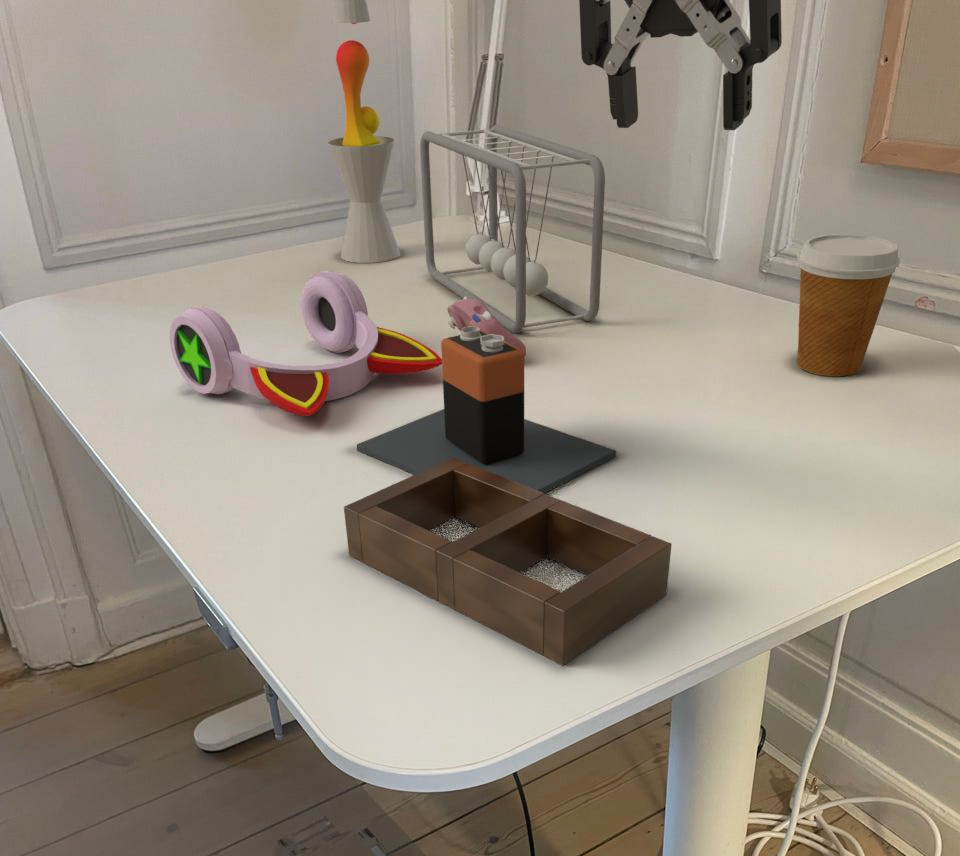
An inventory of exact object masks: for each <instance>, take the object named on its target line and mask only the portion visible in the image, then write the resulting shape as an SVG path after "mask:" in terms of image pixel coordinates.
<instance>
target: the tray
mask: <svg viewBox="0 0 960 856" xmlns="http://www.w3.org/2000/svg"><path fill="white" fill-rule="evenodd" d="M343 512H344V521H345V522H344V523H345V531H346V539H347V549H348V555H349V556H350V557H351V558H354V559H355V560H357V561H359V562H362V563H363V564H366V565H367V566H369V567H371V568H373V569H375V570H377V571H379V572H381V573H383V574H384V575H387V576H388V577H391V578H392V579H394V580H396V581H398V582H399V583H400V582H401V583H402V584H404V585H405V586H408V587H409V588H411V589H413V590H415V591H417V592H419V593H422V594H423V595H425V596H427V597H428V598H431V599H433V600H435V601H437V602H439V603H440V604H443V605H445V606H446V607H449V608H450V609H452V610H455V611H456V612H458V613H460V614H462V615H464V616H466V617H468V618H470V619H471V620H474V621H475V622H477V623H478V624H479V623H480V624H481V625H483V626H485V627H487V628H490V629H491V630H493V631H495V632H497V633H499V634H501V635H503V636H504V637H507V638H509V639H510V640H513V641H514V642H517V643H518V644H520V645H522V646H524V647H526V648H528V649H530V650H531V651H534V652H536V653H537V654H539V655H541V656H544V657H546V658H547V659H549V660H551V661H553V662H555V663H557V664H559V665H560V666H564V665H566V664H567V663H569V662H570V661H572V660H573V659H575V658H576V657H577V656H579V655H581V654H582V653H583V652H585V651H587V650H588V649H589V648H591V647H592V646H594V645H596V644H597V643H598V642H599V641H601V640H602V639H604V638H605V637H607V636H608V635H610V634H611V633H612V632H615V630H617V629H618V628H620V627H621V626H623V625H624V624H626V623H627V622H629V621H630V620H631V619H633V618H634V617H636V616H637V615H639V614H640V613H642V612H643V611H645V610H646V609H648V608H649V607H651V606H652V605H654V604H655V603H656V602H658V601H660V600H661V599H662V598H664V597H665V596H667V593H668V585H669V575H670V564H671V554H672V546H673V545H672V543H671V542H668V541H666V540H664V539H661V538H658V537H656V536H653V535H651V534H649V533H646V532H644V531H641V530H638V529H636V528H633V527H631V526H628V525H625V524H623V523H620V522H618V521H616V520H614V519H610V518H608V517H605V516H602V515H601V514H597V513H596V512H593V511H590V510H588V509H585V508H583V507H580V506H577V505H575V504H572V503H569V502H568V501H565V500H561V499H559V498H557V497H554V496H551V495H549V494H546V493H542V492H539V491H537V490H534V489H532V488H529V487H526V486H524V485H521V484H519V483H516V482H514V481H511V480H509V479H506V478H503V477H501V476H498V475H496V474H493V473H491V472H488V471H486V470H483V469H481V468H478V467H475V466H473V465H470V464H467V463H465V462H463V461H460V460H458V459H455V458H451V459H449V460H447V461H444V462H442V463H440V464H438V465H436V466H433V467H431V468H429V469H427V470H424V471H422V472H420V473H418V474H412V475H411V476H409V477H406V478H404V479H402V480H400V481H398V482H396V483H393V484H391V485H389V486H387V487H385V488H382V489H379V490H377V491H375V492H373V493H371V494H369V495H366V496H365V497H362V498H360V499H358V500H356V501H353V502H351V503H349V504H346V505H345V506H343ZM453 518H456V519H459V520H461V521H464V522H465V523H468V524H471V525H472V526H474V527H477V528H476V529H474V530H473V531H471V532H469V533H467V534H465V535H462V536H461V537H459V538H457V539H454V540H453V541H452V540H450V539H448V538H445V537H443V536H441V535H439V534H437V533H435V532H432V531H431V529H433V528H435V527H437V526H439V525H441V524H443V523H445V522H447V521H449V520H451V519H453ZM545 558H547V559H550V560H552V561H554V562H557V563H559V564H560V565H561V564H562V565H564V566H565V567H568V568H569V569H570V568H571V569H572V570H575V571H577V572H579V573H582V574H584V575H586V576H585V577H583V578H581V579H580V580H578V581H576V582H575V583H574V584H571V585H570V586H568V587H567V588H565V589H563V590H562V591H560V590H558V589H556V588H554V587H553V586H549V585H547V584H545V583H543V582H541V581H538V580H536V579H534V578H532V577H530V576H527V575H526V574H524V573H521V572H523V571H525V570H526V569H528V568H531V567H532V566H533V565H535V564H537V563H538V562H540V561H542V560H544V559H545Z"/></svg>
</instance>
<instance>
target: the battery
mask: <svg viewBox="0 0 960 856" xmlns="http://www.w3.org/2000/svg"><path fill="white" fill-rule="evenodd" d="M460 333H461V334H458V335H453V336H450V337H445V338H443V339H441V342H440V349H441V351H440V352H441V359H442V364H441V371H442V372H441V373H442V392H443V393H442V394H443V409H444V416H445V436H446V439H447V440H449V441H450V442H451V443H453V444H454V445H456V446H457V447H459V448H460V449H462V450H463V451H465V452H466V453H468V454H469V455H471V456H472V457H474V458H475V459H477V460H478V461H480V462H481V463H483V464H488V463H492V462H495V461H499V460H502V459H506V458H509V457H513V456H516V455H520V454H522V453H523V452H524V419H525V358H524V352H523V351H522V350H521V349H519V348H517V347H515V346H513V345H511V344H509V343H507V342H505V341H504V337H503V336H501V335H495V334H489V333H487V332H485V331H480V329H479V328H478V327H474V326H468V327H464V328H462V329H461V331H460Z"/></svg>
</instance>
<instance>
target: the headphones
mask: <svg viewBox="0 0 960 856" xmlns="http://www.w3.org/2000/svg"><path fill="white" fill-rule="evenodd" d="M300 298H301V299H300V307H301V308H300V309H301V315H302V318H303V319H302V320H303V322H304V324H305V327H306V329H307V331H308V333H309V335H310V336H311V338H312V339H313V340H314V341H315V343H317V344H318V345H319V346H320V347H322V348H323V349H324V350H327V351H330V352H332V353H337V354H341V353H344V352H348V351H350V350H353V348H354V347H356V348H357V349H358V350H357V352H355V353H354V354H353V355H351V356H350V357H348V358H346V359H342V360H340V361H336V362H333V363H332V362H331V363H328V364H327V363H326V364H318V365H317V364H316V365H289V364H288V365H287V364H278V363H271V362H268V361H262V360H260V359H255V358H253V357H250V356H248V355H246V354H244V353H242V350H241V348H240V344H239V341H238V338H237V336H236V333H235V332H234V330H233V329H232V327H231V325H230V324H229V323H228V321H227V320H226V319H225V318H224V317H223V316H222V315H221V314H220V313H218V312H217V311H216V310H213V309H211V308H208V307H206V306H204V305H195V306H193V307H189V308H186V309H185V310H184V311H183V312H182V314H181V315H180V316H177V317H176V318H174V320H172V323H171V325H170V328H169V345H170V349H171V353H172V357H173V360H174V362H175V364H176V367H177V369H178V371H179V373H180V375H181V377H182V378H183V380H184V381H185V382H186V383H187V384H188V385H189V386H190V387H191V388H192V389H193V390H194V391H196V392H197V393H199V394H204V395H205V394H213V395H222V394H226V393H229V392H230V391H232V390H233V389H237V390H238V391H239V392H243V393H245V394H247V395H249V396H253V397H257V398H260V399H264V400H267V401H268V402H270V403H271V404H273V405H274V406H276V407H277V408H278V409H280V410H282V411H284V412H287V413H289V414H293V415H294V416H295V415H296V416H300V417H307V416H308V417H309V416H312V415H314V414H316V413H317V412H319V411H320V410H321V408H322V406H323V405H324V404H325V402H328V401H329V402H330V401H335V400H339V399H342V398H345V397H349V396H351V395H353V394H356V393H357V392H359V391H361V390H362V389H364V388H365V387H366V386H367V385H368V384H369V383H371V380H372V379H373V377H374V375H375V374H381V375H405V374H415V373H420V372H426V371H429V370H432V369H434V368H437V367H440V366H442V356H440V355H438V353H436V351H434V350H433V349H431V348H430V347H428V346H427V345H424V344H423V343H421V342H420V341H418V340H416V339H414V338H412V337H410V336H408V335H406V334H403V333H401V332H398V331H395V330H391V329H387V328H383V327H379V326H377V325H376V323H375V322H374V320H373V319H371V318H370V317H369V312H368V307H367V303H366V300H365V297H364V295H363V292H362V290H361V289H360V288H359V286H358V284H357V283H356V282H355V280H353V278H351V277H349V276H348V275H346V274H345V273H342V272H334V271H331V270H323V271H319V272H316V273H313V274H312V275H311V276H310V277H309V278H308V279H307V281H306V284H305V285H304V287H303V290H302V293H301V297H300Z"/></svg>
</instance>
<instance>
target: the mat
mask: <svg viewBox="0 0 960 856" xmlns="http://www.w3.org/2000/svg"><path fill="white" fill-rule="evenodd" d="M356 451H357V452H360V453H362V454H365V455H367V456H369V457H371V458H374V459H377V460H379V461H382V462H384V463H386V464H389V465H391V466H394V467H396V468H398V469H401V470H403V471H405V472H407V473H409V474H410V473H411V474H412V475H415V474H418V473H420V472H422V471H424V470H427V469H429V468H431V467H433V466H436V465H438V464H440V463H442V462H444V461H447V460H449V459H451V458H455V459H458V460H460V461H463V462H465V463H467V464H470V465H473V466H475V467H478V468H481V469H483V470H486V471H488V472H491V473H493V474H496V475H498V476H501V477H503V478H506V479H509V480H511V481H514V482H516V483H519V484H521V485H524V486H526V487H529V488H532V489H534V490H537V491H539V492H542V493H544V494H546V493H547V492H549V491H551V490H553V489H556V488H557V487H559V486H562V485H563V484H565V483H567V482H569V481H571V480H572V479H574V478H577V477H579V476H580V475H583V474H584V473H586V472H588V471H590V470H592V469H594V468H596V467H598V466H600V465H602V464H604V463H605V462H607V461H609V460H611V459H613V458H616V455H617V450H616V449H614V448H610V447H608V446H604V445H602V444H600V443H599V444H598V443H596V442H593V441H591V440H587V439H584V438H581V437H578V436H575V435H572V434H570V433H567V432H565V431H561V430H558V429H555V428H552V427H549V426H546V425H543V424H540V423H537V422H535V421H531V420H529V419H525V418H524V452H523V453H522V454H520V455H516V456H513V457H509V458H506V459H502V460H499V461H495V462H492V463H488V464H483V463H481V462H480V461H478V460H477V459H475V458H474V457H472V456H471V455H469V454H468V453H466V452H465V451H463V450H462V449H460V448H459V447H457V446H456V445H454V444H453V443H451V442H450V441H449V440H447V439H446V436H445V416H444V408H442V409H440V410H438V411H436V412H433V413H430V414H428V415H425V416H423V417H420V418H418V419H416V420H413V421H411V422H408V423H406V424H403V425H401V426H399V427H396V428H393V429H390V430H388V431H386V432H384V433H381V434H379V435H376V436H374V437H372V438H369V439H366V440H364V441H362V442H358V443H357V444H356Z"/></svg>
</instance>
